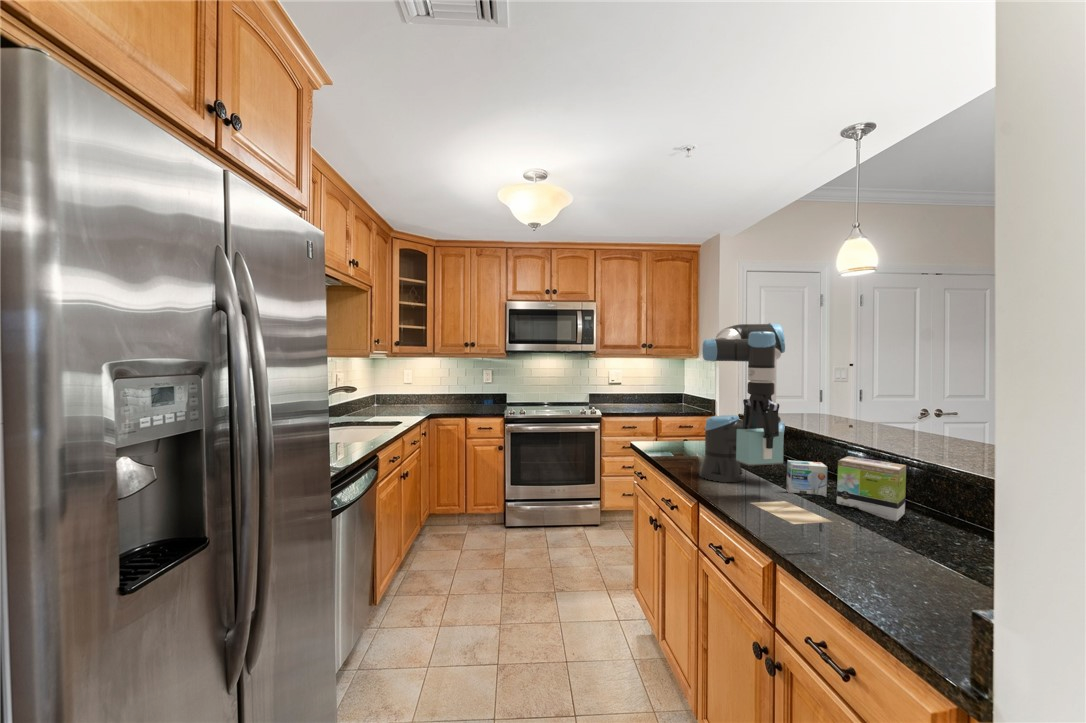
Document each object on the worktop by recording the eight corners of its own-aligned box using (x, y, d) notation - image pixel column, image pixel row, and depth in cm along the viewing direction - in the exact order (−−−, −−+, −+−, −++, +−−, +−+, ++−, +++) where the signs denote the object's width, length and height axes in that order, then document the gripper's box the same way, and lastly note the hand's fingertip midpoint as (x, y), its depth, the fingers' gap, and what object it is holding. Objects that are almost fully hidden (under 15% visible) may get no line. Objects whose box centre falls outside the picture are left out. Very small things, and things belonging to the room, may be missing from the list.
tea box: (835, 508, 138) (836, 459, 138) (845, 502, 144) (846, 455, 144) (898, 522, 126) (899, 468, 126) (906, 514, 133) (906, 463, 133)
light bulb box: (790, 497, 149) (791, 463, 149) (785, 491, 155) (786, 459, 155) (827, 500, 146) (828, 466, 146) (821, 494, 152) (821, 462, 152)
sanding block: (736, 461, 144) (736, 429, 144) (769, 459, 147) (770, 428, 147) (748, 465, 138) (749, 432, 138) (783, 463, 141) (783, 431, 141)
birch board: (749, 507, 137) (749, 502, 137) (785, 506, 139) (785, 501, 139) (793, 529, 119) (793, 524, 119) (833, 527, 121) (833, 521, 121)
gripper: (731, 379, 150) (730, 450, 151) (771, 384, 132) (770, 464, 133) (751, 379, 152) (750, 449, 153) (794, 383, 134) (792, 463, 134)
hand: (759, 456), depth 143 cm, fingers closed on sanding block, 6 cm apart
